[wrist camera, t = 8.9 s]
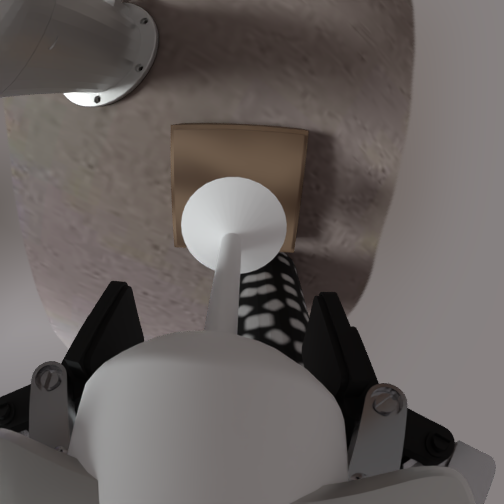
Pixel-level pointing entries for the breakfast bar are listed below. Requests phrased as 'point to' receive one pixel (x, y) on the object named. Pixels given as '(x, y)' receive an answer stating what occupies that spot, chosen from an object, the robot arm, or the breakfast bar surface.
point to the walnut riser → (238, 165)
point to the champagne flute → (212, 387)
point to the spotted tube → (274, 307)
